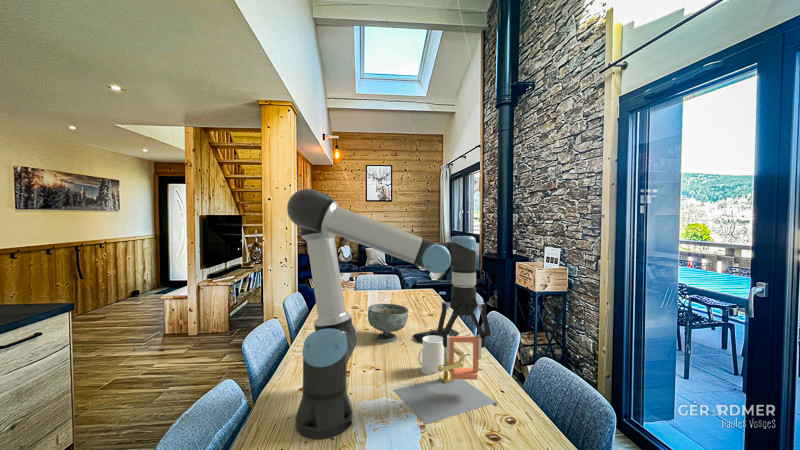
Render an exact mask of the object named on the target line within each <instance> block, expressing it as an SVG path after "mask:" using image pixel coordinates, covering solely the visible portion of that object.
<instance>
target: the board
mask: <svg viewBox="0 0 800 450" xmlns="http://www.w3.org/2000/svg"><path fill="white" fill-rule="evenodd" d="M393 392H394V393H395V394H396V395H397V396H398V397H399V399H401V400H402V401H403V402H404V403H405V404H406V405H407V406H408V407H409V409H410V410H412V411H413V413H414V414H415V415H416V416H417V417H418V418H419V419H420V420H421V421H422V423H424V425H429V424H432V423H435V422H439V421H442V420H445V419H448V418H450V417H451V418H452V417H454V416H457V415H461V414H464V413H467V412H471V411H473V410H477V409H479V408H483V407H486V406H489V405H492V406H494V407H498V406H497V405H498V402H497V401H495V400H494V399H493V398H491V397H490V396H488V395H486V394H485V393H484V392H482V391H481V390H479V389H478V388H476V387H475V386H473V385H472V384H470V383H469V382H467V381H466V379H454V382H450V383H446V384H445V383H444V382H442V381H441V380H440V379H439V378H437V379H434V380H429V381H424V382H421V383H420V382H419V383H417V384H412V385H408V386H404V387H400V388H397V389H393Z"/></svg>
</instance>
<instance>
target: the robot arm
mask: <svg viewBox="0 0 800 450" xmlns="http://www.w3.org/2000/svg"><path fill="white" fill-rule="evenodd" d="M286 206H287V207H286V211H287V212H286V213H287V215H288V217H289V219H290V221H291V222H292V223H293V224H295V226H297V227H299V231H300V232H299V233H300V237H301V238H302V239H303V240H305V242H306V245H307V250H308V251H307V252H308V257H309V264H310V270H311V277H312V284H313V285H312V286H313V290H314V291H313V292H314V297H315V305H316V311H317V318H316V319H315V321H314V322H313V325H314V331H313V332H311V333H310V334H308V335H307V336H306V338H305V339H304V342H303V347H302V396H301V399H300V403H299V404H298V409H297V412H296V415H295V429H296V431H297V432H298V434H300V435H302V436H304V438H305V437H306V438H308V439H309V438H310V439H327V438H331V437H334V436H337V435H340V434H342V433H343V432H345V431H346V430H348V428H350V426H351V424H352V422H353V421H352V420H353V419H352V418H353V408H352V404H351V401H350V398H349V397H350V396H349V394H348V392H347V379H348V377H347V373H348V372H347V367H348V363H349V360H350V358H351V357H352V354H353V352H354V350H355V349H356V346H357V342H358V334H357V329H356V327H355V326H354V325H353V320H352V315H351V313H349V312H348V311H346V306H345V299H344V293H343V285H342V280H341V279H342V278H341V273H340V272H341V271H340V266H339V259H338V258H339V257H338V252H337V246H336V245H337V244H336V239H335V237H336V236H339V237H341V238H344V239H346V240H349V241H351V242H355V243H357V244H359V245H362V246H364V247H367V248H370V249H373V250H376V251H378V252H381V253H384V254H386V255H389V256H392V257H394V258H397V259H400V260H402V261H405V262H408V263H410V264H413V265H415V266H416V267H420V268H423V269H424V270H427V271H428V272H429V273H433V274H440V273H444V272H446V271H447V270H448V268H449V267H451V284H452V286H451V299H450V301H449V302H447V301H442V302H441V311H440V312H441V313H440V316H439V317H440V318H439V320H438V324H437V325H438V326H437V328H436V330H437V333H438V335H442V336H443V346H444V347H446V357H447V359H449V353H450V337H449V335H448V333H449V332H450V330H451V328H452V329H453V326H454V323H455V321H456V320H457V319H458V317H463V316H466V317H470V318H471V319H472V323H473V324H474V326H475V328H476V330H477V332H478V335H477V336H476V337H478V361H480V360H482V349H484V348H485V345H486V344H485V342H486V340H485V339H486V337H490V336H491V335H492V333H491V329H490V325H489V320H488V315H487V304H486V303H485V302H477V287H476V285H477V252H478V251H477V242H476V241H477V240H476V238H475V237H474V236H472V235H469V236H468V235H454V236H452V237H451V241H449V242H440V241H438V242H437V241H430V240H428V239H426V238H423V237H421V236H417V235H415V234H412V233H410V232H407V231H404V230H402V229H400V228H399V229H398V228H396V227H394V226H392V225H391V226H390V225H389V224H385V223H383V222H381V221H378V220H375V219H373V218H370V217H367V216H365V215H362V214H359V213H356V212H355V211H354V212H353V211H351V210H349V209H347V208H343V207H341V206H339V204H338V203H337V201H336V200H334V199H333V198H332V197H331V196H330V195H329V194H327V193H324V192H321V191H318V190H316V189H312V188H304V189H303V188H302V189H300V190H297V191H296V192H294V193H293V194H292V195H291V196H290V198H289V200H288V202H287V205H286ZM450 307H451V308H452V309H453V311H452V313H451V316H450V317H449V319H448V321H447V323H446V325H445V329H444V324H445V321H446V317H447V311H448V310H449V308H450ZM477 308H478V309H479V310H480V315H481V320H482V323H483V328H482V327H481V325H480V322H479V321H478V319H477V317H476V315H475V314H476V313H474V312H475V310H476V309H477ZM442 329H444V331H443V330H442ZM483 329H484V331H483Z"/></svg>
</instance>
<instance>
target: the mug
mask: <svg viewBox="0 0 800 450" xmlns="http://www.w3.org/2000/svg"><path fill="white" fill-rule="evenodd" d="M421 346H422V347H421V348H420V350H419V352H418V356H417V360H418V363H419V365H420V367H421V373H422V374H423V375H426V376H431V375H435V374H436V375H437V374H440V373H444V371H442V372H440V371H438V366H439V365H444V346H443V338H442V337H440V336H434V335H430V336H425V337H423V339H422V345H421ZM421 356H422V357H421Z"/></svg>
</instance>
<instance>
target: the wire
mask: <svg viewBox="0 0 800 450" xmlns="http://www.w3.org/2000/svg"><path fill="white" fill-rule="evenodd" d="M454 354H455V355H457V356H459V358H458V359H459V360H458V361H454V362H453V363H449V359H447V357H446V347H444V365H439V366H438V371H440V373H443V375H439V376H438V377H439V378H438V379H440V380H441V381H442V382H444V383H445V384H446V383H450V382H454V379H452V377H451V373H450V372H449V370H450V369H454V368H463V366H464V363H465V360H466V357H467V354H466V352H464V351H462V350H461V349H459V348H457V347H456V346H454ZM442 371H444V372H442Z"/></svg>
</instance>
